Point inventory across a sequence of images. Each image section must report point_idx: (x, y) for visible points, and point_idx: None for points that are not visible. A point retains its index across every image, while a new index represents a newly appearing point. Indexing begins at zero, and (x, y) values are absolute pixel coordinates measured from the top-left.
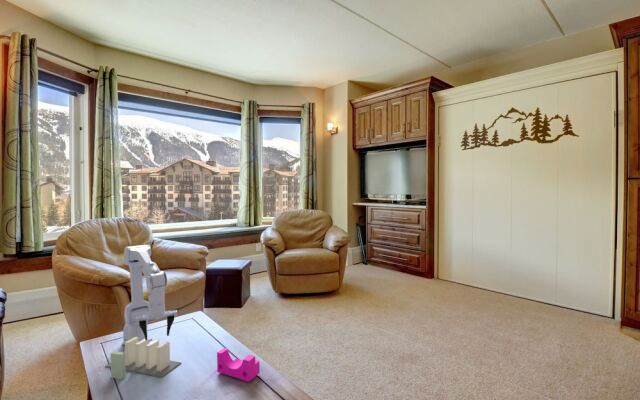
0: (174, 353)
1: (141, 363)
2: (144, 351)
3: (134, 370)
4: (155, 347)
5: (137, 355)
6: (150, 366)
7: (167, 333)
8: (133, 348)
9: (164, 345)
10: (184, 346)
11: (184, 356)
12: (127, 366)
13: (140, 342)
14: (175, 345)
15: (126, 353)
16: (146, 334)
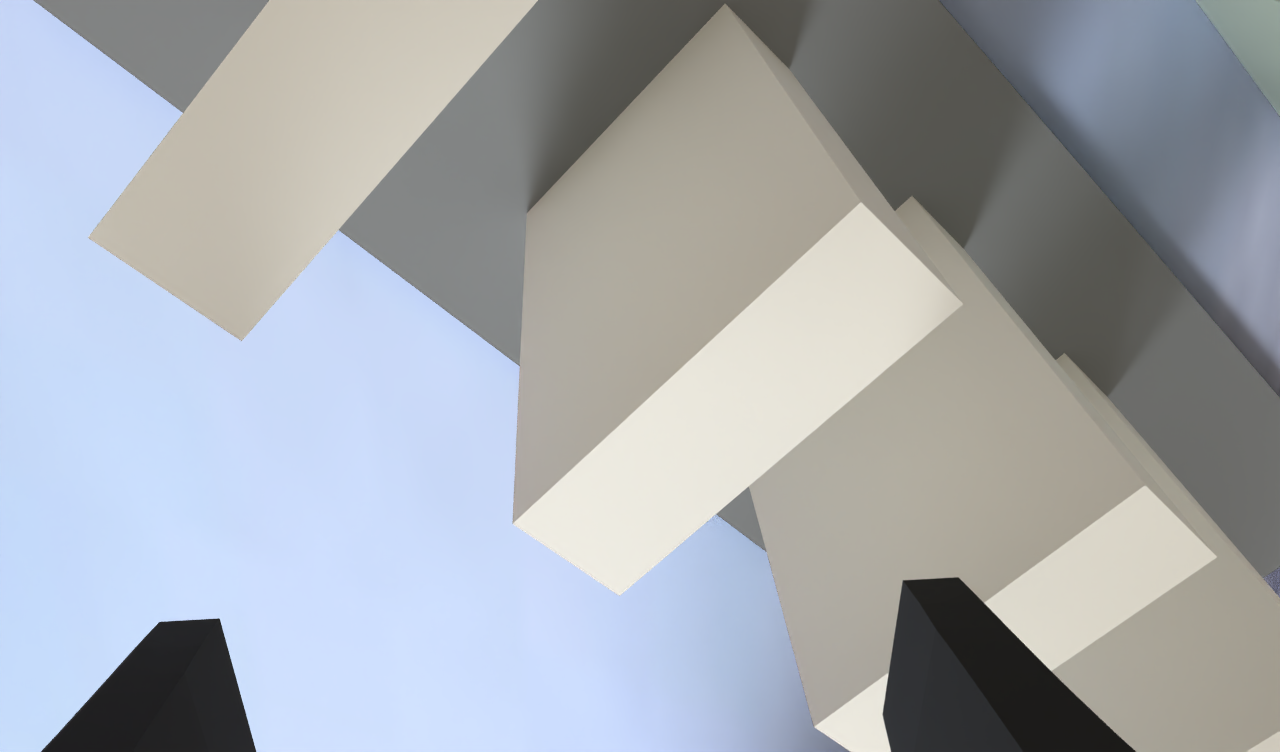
0: (262, 493)
1: None
2: (862, 440)
3: (1000, 109)
4: (619, 321)
5: (1025, 330)
6: (709, 37)
7: (164, 679)
8: None
9: (267, 9)
10: (106, 665)
11: (27, 295)
12: (1082, 334)
13: (1060, 593)
14: (279, 745)
15: (1210, 518)
16: (1018, 727)
